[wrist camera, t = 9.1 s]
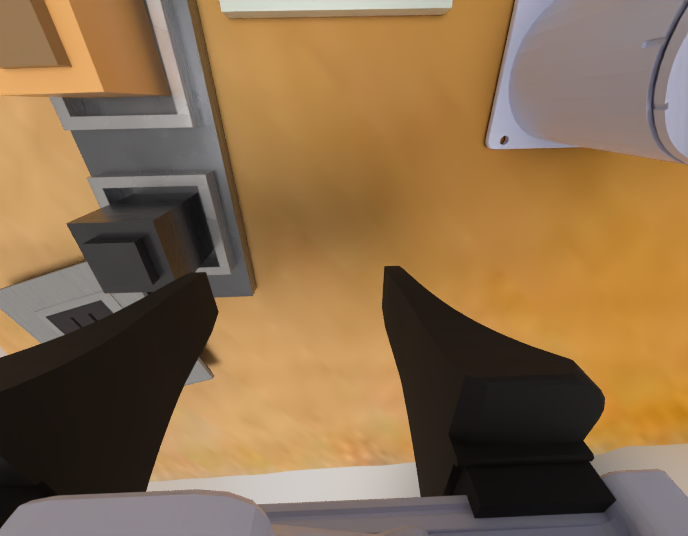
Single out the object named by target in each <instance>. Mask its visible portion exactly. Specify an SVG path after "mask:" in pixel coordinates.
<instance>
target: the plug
mask: <svg viewBox="0 0 688 536" xmlns="http://www.w3.org/2000/svg"><path fill="white" fill-rule="evenodd" d="M0 96H33V97H68V98H118V97H147V96H171V95H170V92H169V88H168V85H167V81H166V78H165V74H164V71H163V67H162V64H161V61H160V57H159V54H158V50H157V47H156V43H155V40H154V36H153V33H152V29H151V26H150V22H149V19H148V16H147V12H146V9H145V5H144V2H143V0H0Z"/></svg>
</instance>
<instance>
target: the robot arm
mask: <svg viewBox="0 0 688 536" xmlns="http://www.w3.org/2000/svg"><path fill="white" fill-rule="evenodd" d="M503 136H505V141H504V143H502V144H500V140H501V138H502V137H503ZM485 144H486V146H487V147H488V148H490V149H528V148H568V147H586V148H592V149H598V150H604V151H610V152H616V153H622V154H628V155H634V156H640V157H646V158H652V159H658V160H664V161H669V162H675V163H681V164H687V165H688V0H515V4H514V9H513V13H512V18H511V23H510V27H509V32H508V37H507V41H506V46H505V51H504V55H503V60H502V65H501V70H500V74H499V79H498V84H497V88H496V93H495V98H494V102H493V107H492V112H491V117H490V121H489V126H488V131H487V135H486V140H485ZM382 310H383V316H384V322H385V328H386V331H387V335H388V338H389V342H390V345H391V348H392V352H393V355H394V358H395V362H396V365H397V368H398V372H399V375H400V379H401V383H402V388H403V393H404V398H405V404H406V409H407V414H408V420H409V426H410V431H411V437H412V443H413V449H414V456H415V462H416V467H417V475H418V481H419V488H420V495H421V497H414V498H392V499H369V500H348V501H347V500H346V501H328V502H327V501H325V502H302V503H279V504H258V505H257V504H256V503H255V502H254V501H253V500H250V499H247V498H245V497H242V496H239V495H235V494H233V493H230V492H222V491H211V490H177V491H176V490H175V491H152V492H146V490H147V486H148V483H149V479H150V476H151V473H152V470H153V467H154V464H155V461H156V458H157V455H158V452H159V449H160V446H161V443H162V440H163V438H164V435H165V432H166V429H167V427H168V424H169V421H170V418H171V416H172V413H173V411H174V408H175V406H176V403H177V401H178V398H179V396H180V393H181V391H182V389H183V387H184V385H185V383H186V381H187V379H188V377H189V375H190V373H191V371H192V369H193V368H194V366H195V364H196V362H197V360H198V358H199V356H200V354H201V352H202V351H203V349H204V347H205V345H206V343H207V341H208V339H209V337H210V335H211V333H212V330H213V327H214V325H215V322H216V318H217V315H218V309H217V306H216V302H215V299H214V296H213V293H212V290H211V286H210V283H209V280H208V277H207V273H206V272H191V273H188V274H186V275H184V276H182V277H180V278H178V279H176V280H174V281H172V282H170V283H169V284H167V285H165V286H163V287H161V288H160V289H158V290H156V291H154V292H153V293H151V294H149V295H147V296H145V297H144V298H142V299H140V300H138V301H136V302H134V303H132V304H130V305H128V306H126V307H125V308H123V309H121V310H119V311H117V312H115V313H113V314H111V315H109V316H107V317H105V318H103V319H100V320H98V321H96V322H94V323H92V324H89V325H87V326H85V327H82V328H80V329H78V330H75V331H73V332H71V333H68V334H65V335H63V336H60V337H57V338H55V339H52V340H50V341H47V342H44V343H42V344H39V345H36V346H34V347H31V348H28V349H25V350H22V351H19V352H16V353H13V354H10V355H7V356H4V357H1V358H0V536H688V497H687V496H686V495H685V494H684V493H683V492H682V490H681V489H680V488H679V487H678V486H677V485H676V484H675V483H674V482H673V480H672V479H671V478H670V477H669V476H668V475H667V474H666V473H665V472H664V471H662V470H659V469H650V470H627V471H614V472H609V473H606V474H604V475H602V476H599V475H598V473H597V472H596V470H595V469H594V468H593V466H592V465H591V463H590V462H589V461H592V460H593V459H594V455H593V453H592V452H591V450H590V449H589V448H588V446H587V445H586V444H585V442H584V441H583V440H584V439H585V437H586V436H587V435H588V433H589V432H590V431H591V429H592V428H593V426H594V425H595V424H596V422H597V421H598V420H599V418H600V416H601V414H602V412H603V410H604V404H605V397H604V395H603V393H602V391H601V390H600V389H599V387H598V386H597V385H596V384H595V383H594V382H593V381H592V380H591V379H590V378H589V377H588V376H587V375H586V374H585V373H584V371H583V370H582V369H581V368H580V367H579V366H578V365H577V364H576V363H575V362H574V361H573V360H571V359H568V358H565V357H562V356H559V355H556V354H553V353H550V352H547V351H544V350H541V349H538V348H535V347H532V346H530V345H527V344H524V343H522V342H519V341H517V340H514V339H512V338H509V337H507V336H505V335H503V334H500V333H498V332H496V331H494V330H492V329H490V328H488V327H486V326H484V325H482V324H479V323H477V322H476V321H474V320H472V319H470V318H468V317H467V316H465V315H463V314H462V313H460V312H458V311H457V310H455V309H453V308H452V307H450V306H449V305H447V304H446V303H444V302H443V301H442V300H440V299H439V298H437V297H436V296H435V295H433V294H432V293H431V292H429V291H428V290H427V289H426V288H424V287H423V286H422V285H421V284H420V283H418V282H417V281H416V280H415V279H414V278H413V277H412V276H410V275H409V274H408V273H407V272H406V271H405V270H404V269H403V268H401V267H400V266H384V283H383V299H382Z"/></svg>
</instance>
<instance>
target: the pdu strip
mask: <svg viewBox="0 0 688 536" xmlns="http://www.w3.org/2000/svg"><path fill="white" fill-rule="evenodd" d="M143 2H144V5H145V9H146V12H147V16H148V19H149V22H150V26H151V29H152V33H153V36H154V40H155V43H156V47H157V50H158V54H159V57H160V61H161V64H162V67H163V71H164V74H165V78H166V81H167V85H168V88H169V92H170V95H171V96H147V97H118V98H68V97H49V98H50V100H51V102H52V104H53V106H54V109H55V111H56V113H57V115H58V117H59V119H60V121H61V124H62V126H63V128H64V130H70V131H71V133H72V135H73V137H74V139H75V142H76V144H77V146H78V148H79V150H80V153H81V155H82V157H83V159H84V161H85V163H86V166H87V168H88V170H89V172H90V174H91V177H87V179H88V182H89V184H90V186H91V188H92V190H93V192H94V195H95V197H96V199H97V201H98V203H99V205H100V207H101V208H100V209H98V210H96V211H94V212H91V213H89V214H87V215H85V216H82V217H80V218H78V219H76V220H73V221H71V222H69V223H66V224H67V226H68V228H69V229H70V231H71V233H72V235H73V237H74V239H75V240H76V242H77V244H78V246H79V248H80V250H81V252H82V253H83V255H84V257H85V259H86V261H87V263H88V264H89V266H90V268H91V270H92V272H93V274H94V275H95V277H96V279H97V281H98V283H99V285H100V286H101V288H102V290H103V292H104V294H107V293H138V292H147V293H148V294H151V293H153V292H154V291H156V290H158V289H160V288H161V287H163V286H165V285H167V284H169V283H170V282H172V281H174V280H176V279H178V278H180V277H182V276H184V275H186V274H188V273H191V272H206V273H207V277H208V280H209V283H210V286H211V290H212V293H213V296H214V297H238V296H253V294H254V292H255V290H256V282H255V278H254V273H253V268H252V263H251V259H250V254H249V249H248V244H247V239H246V235H245V230H244V225H243V220H242V216H241V211H240V206H239V201H238V197H237V192H236V187H235V182H234V178H233V173H232V168H231V163H230V159H229V154H228V149H227V144H226V140H225V135H224V130H223V125H222V121H221V116H220V111H219V106H218V102H217V97H216V92H215V87H214V83H213V78H212V73H211V68H210V64H209V59H208V54H207V49H206V45H205V40H204V35H203V30H202V26H201V21H200V16H199V11H198V7H197V2H196V0H143Z"/></svg>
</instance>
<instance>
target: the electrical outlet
mask: <svg viewBox="0 0 688 536" xmlns="http://www.w3.org/2000/svg"><path fill="white" fill-rule="evenodd" d="M147 295H149V294H148V293H147V292H138V293H107V294H104V292H103V290H102V288H101V286H100V285H99V283H98V281H97V279H96V277H95V275H94V274H93V272H92V270H91V268H90V266H89V264H88V263H87V261H84V262H81V263H78V264H75V265H72V266H69V267H66V268H63V269H60V270H57V271H54V272H51V273H48V274H44V275H41V276H38V277H35V278H32V279H29V280H26V281H23V282H20V283H17V284H14V285H11V286H8V287H5V288H1V289H0V309H1V310H2V311H4V312H5V313H6V314H7V315H8V316H9V317H11V318H12V319H13V320H14V321H15V322H17V323H18V324H19V325H20V326H21V327H23V328H24V329H25V330H26V331H27V332H28V333H30V334H31V335H32V336H33V337H34V338H36V339H37V340H38V341H39V342H40V343H41V344H42V343H44V342H47V341H50V340H52V339H55V338H57V337H60V336H63V335H65V334H68V333H71V332H73V331H75V330H78V329H80V328H82V327H85V326H87V325H89V324H92V323H94V322H96V321H98V320H100V319H103V318H105V317H107V316H109V315H111V314H113V313H115V312H117V311H119V310H121V309H123V308H125V307H126V306H128V305H130V304H132V303H134V302H136V301H138V300H140V299H142V298H144V297H145V296H147ZM213 377H214V375H213V373H212V372H211V370H210V369H209V368H208V366H207V365H206V364H205V363H204V361H203V360H202V359H201V358H200V357H199V358H198V360H197V362H196V364H195V366H194V368H193V369H192V371H191V373H190V375H189V377H188V379H187V381H186V383H185V385H184V386H186V385H190V384H194V383H198V382H202V381H206V380H210V379H213Z"/></svg>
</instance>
